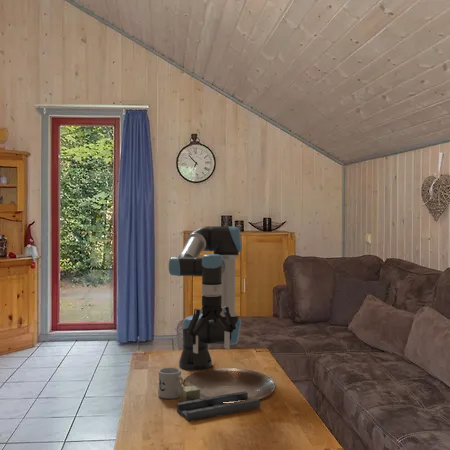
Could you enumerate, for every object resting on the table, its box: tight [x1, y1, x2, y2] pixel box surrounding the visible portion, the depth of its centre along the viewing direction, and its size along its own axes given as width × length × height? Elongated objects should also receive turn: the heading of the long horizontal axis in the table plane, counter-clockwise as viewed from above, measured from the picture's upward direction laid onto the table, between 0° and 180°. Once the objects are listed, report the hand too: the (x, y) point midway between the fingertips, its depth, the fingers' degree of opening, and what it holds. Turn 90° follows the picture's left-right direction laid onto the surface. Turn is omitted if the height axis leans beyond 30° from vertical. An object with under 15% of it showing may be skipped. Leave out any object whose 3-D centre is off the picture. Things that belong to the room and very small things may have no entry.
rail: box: [176, 390, 261, 422], centre depth 207 cm, size 11×28×3 cm, turn 118°
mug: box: [157, 366, 184, 400], centre depth 220 cm, size 12×9×10 cm
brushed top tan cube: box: [180, 385, 201, 402], centre depth 214 cm, size 6×6×6 cm
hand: (211, 350), depth 215 cm, fingers open, 13 cm apart
